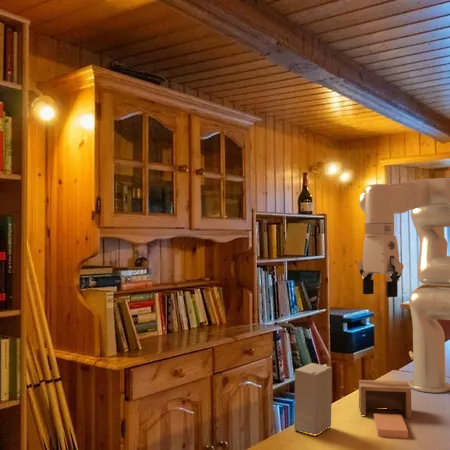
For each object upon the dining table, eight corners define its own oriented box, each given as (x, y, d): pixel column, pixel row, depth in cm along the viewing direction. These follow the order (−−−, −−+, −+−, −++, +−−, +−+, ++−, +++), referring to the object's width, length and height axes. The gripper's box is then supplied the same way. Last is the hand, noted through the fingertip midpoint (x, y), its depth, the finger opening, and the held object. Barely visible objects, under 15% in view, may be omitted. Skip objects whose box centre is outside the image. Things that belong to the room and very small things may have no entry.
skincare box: (309, 422, 143) (309, 361, 144) (334, 428, 139) (333, 365, 139) (292, 432, 137) (291, 368, 137) (317, 438, 132) (316, 372, 133)
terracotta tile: (373, 421, 145) (373, 413, 145) (401, 423, 144) (401, 414, 144) (378, 438, 133) (377, 429, 133) (408, 440, 132) (407, 430, 132)
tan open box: (359, 407, 156) (358, 378, 156) (406, 409, 154) (406, 380, 154) (361, 416, 148) (360, 386, 148) (411, 418, 146) (411, 388, 146)
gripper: (413, 230, 140) (413, 297, 139) (370, 232, 156) (370, 292, 155) (389, 229, 137) (389, 298, 136) (348, 231, 153) (348, 293, 152)
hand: (379, 295), depth 145 cm, fingers open, 9 cm apart
